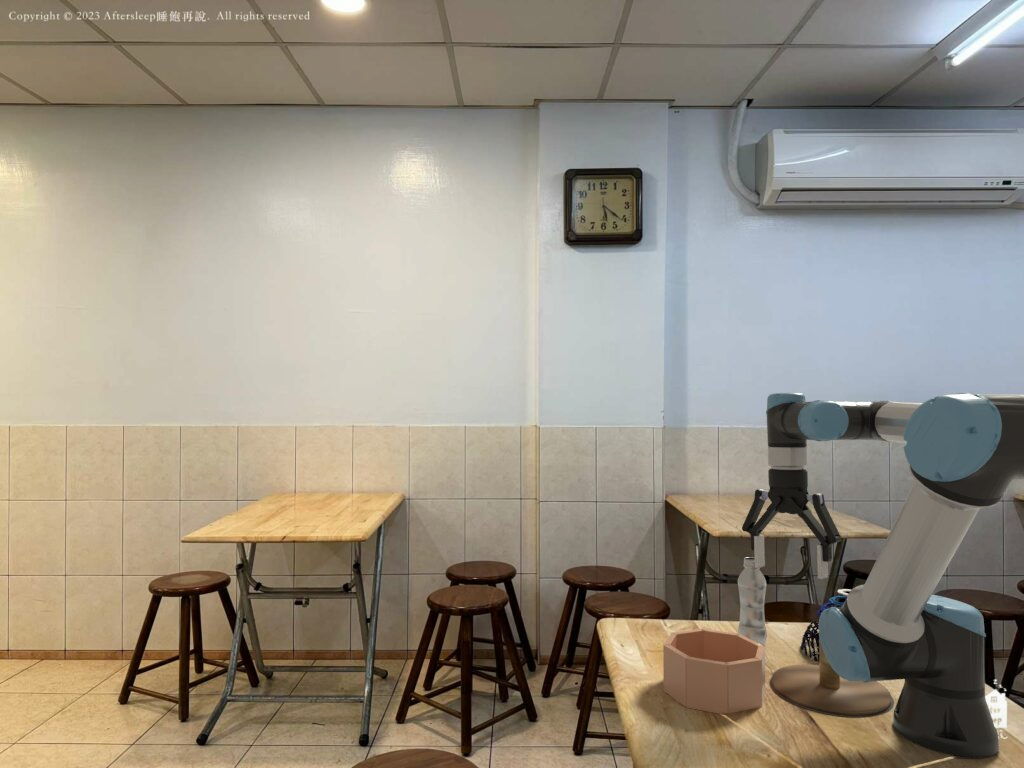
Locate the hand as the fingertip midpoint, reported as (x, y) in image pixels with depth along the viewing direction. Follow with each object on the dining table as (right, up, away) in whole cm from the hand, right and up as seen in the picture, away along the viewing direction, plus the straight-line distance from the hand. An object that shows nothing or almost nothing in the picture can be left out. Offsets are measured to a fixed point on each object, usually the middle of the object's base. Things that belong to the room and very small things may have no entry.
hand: (790, 572), depth 140 cm
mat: (+5, -22, -7) cm, 23 cm away
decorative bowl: (+18, -23, +12) cm, 32 cm away
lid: (+5, -21, -7) cm, 23 cm away
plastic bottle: (-1, -22, +19) cm, 29 cm away
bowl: (-17, -22, -6) cm, 28 cm away
